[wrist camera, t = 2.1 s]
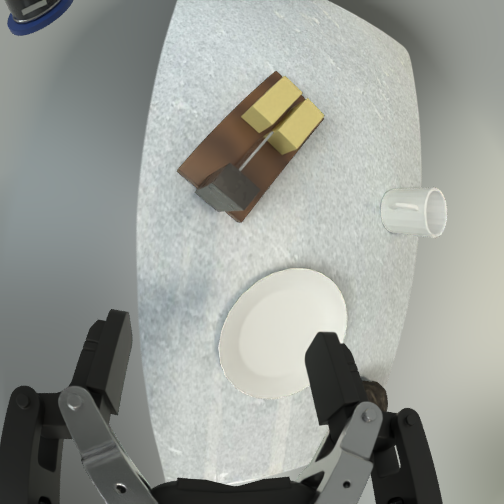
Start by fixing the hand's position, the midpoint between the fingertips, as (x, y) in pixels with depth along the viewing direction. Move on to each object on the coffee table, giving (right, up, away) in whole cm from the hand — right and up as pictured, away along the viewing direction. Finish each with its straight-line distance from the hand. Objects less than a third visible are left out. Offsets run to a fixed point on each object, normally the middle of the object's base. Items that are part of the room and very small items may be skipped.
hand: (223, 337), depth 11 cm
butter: (+4, +21, +22) cm, 31 cm away
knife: (-1, +13, +21) cm, 25 cm away
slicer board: (+2, +18, +23) cm, 29 cm away
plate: (+6, -9, +29) cm, 30 cm away
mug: (+25, +11, +34) cm, 43 cm away
